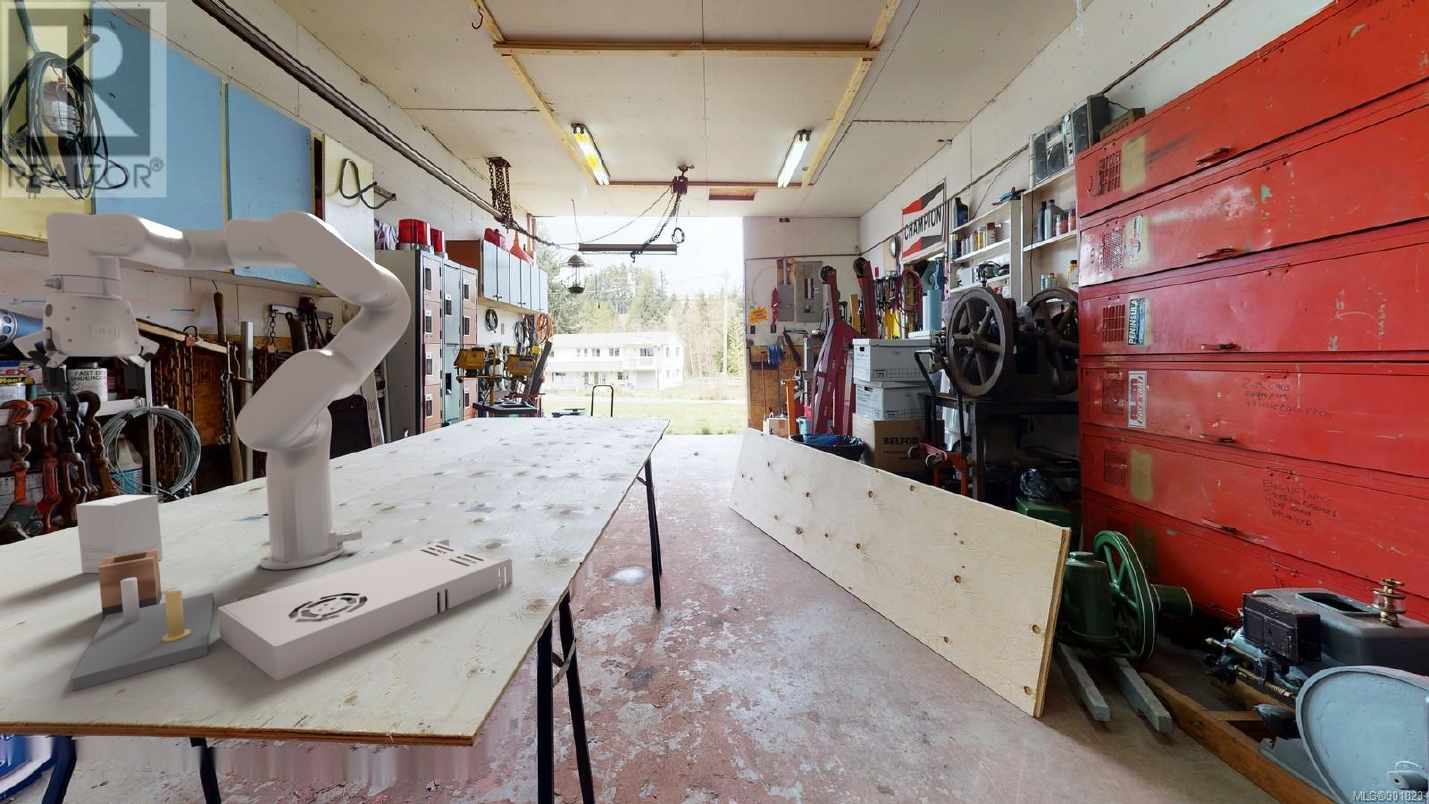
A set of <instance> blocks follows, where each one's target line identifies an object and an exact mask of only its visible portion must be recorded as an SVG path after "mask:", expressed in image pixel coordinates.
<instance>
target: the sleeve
mask: <svg viewBox="0 0 1429 804" xmlns="http://www.w3.org/2000/svg"><path fill="white" fill-rule="evenodd" d="M98 569H99V573H98V580H99V590H100V603H101V614H102V621H103V620H104V619H105V617H106V615H110V614H115V613H120V612H123V606H122V594H121V582H120V581H121V580H124V579H127V578H133V577H136V578H137V587H138V599H139V608H143V607H148V606H153V605H157V604H161V600H162V586H161V573H160V561H159V558H158V549H154V550H148V551H142V552H136V553H129V554H123V555H117V556H111V557H106V558H105V559H104V561H103V562H102V563H101V565H100V566H99V568H98Z"/></svg>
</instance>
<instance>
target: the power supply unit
mask: <svg viewBox="0 0 1429 804" xmlns="http://www.w3.org/2000/svg"><path fill="white" fill-rule="evenodd" d="M511 581H512V582H513V560H512V558H505V559H503V560H500V561H497V560H494V559H490V558H487V557H484V556H481V555H477V554H474V553H471V552H469V551H465V550H463V549H459V548H457V547H452V546H450V541H449V539H441V540H438V541H435V542H431V543H428V544H424V545H421V546H417V547H415V548H411V549H408V550H405V551H401V552H398V553H395V554H391V555H389V556H388V555H387V556H385V557H381V558H378V559H375V560H372V561H369V562H364V563H362V564H358V565H354V566H351V567H348V568H345V569H342V570H338V571H335V572H330V573H328V574H325V575H322V576H318V577H314V578H312V579H308V580H304V581H302V582H301V581H300V582H298V583H294V584H291V585H289V586H285V587H282V588H278V589H274V590H271V591H268V592H265V593H260V594H258V595H255V596H251V597H247V598H245V599H241V600H238V601H235V602H231V603H227V604H224V605H221V606H219V607H218V609H217V610H218V623H219V637H220V639H221V640H223V642H225V643H226V644H227V645H229V646H230V647H231V648H233V649H234V650H236V651H237V652H238V653H240V654H241V655H242V656H243V657H245V658H246V659H247V660H248V661H250V662H251V663H253V664H254V665H255V666H257V667H258V668H260V669H261V671H264V672H265V673H266V674H267V675H268V676H270V677H271V678H272V679H274V680H275V681H281V680H283V679H286V678H288V677H290V676H293V675H295V674H297V673H299V672H302V671H305V670H307V669H310V668H312V667H314V666H317V665H319V664H321V663H324V662H326V661H328V660H330V659H333V658H335V657H339V656H340V655H342V654H344V653H347V652H350V651H352V650H355V649H356V648H359V647H361V646H364V645H366V644H368V643H371V642H373V641H376V640H378V639H381V638H383V637H384V636H385V637H386V636H387V635H390V634H392V633H394V632H396V631H399V630H401V629H404V628H406V627H408V626H411V625H413V624H416V623H418V622H420V621H422V620H425V619H428V618H430V617H432V616H435V615H436V614H438V603H439V612H440V613H441V612H444V611H446V607H447V609H451V608H454V607H456V606H458V605H460V604H463V603H466V602H468V601H470V600H472V599H474V598H477V597H479V596H482V595H484V594H486V593H489V592H491V591H493V590H495V589H498V588H500V587H499V586H501V585H503V586H505V585H506V584H509V582H510V583H512V582H511Z"/></svg>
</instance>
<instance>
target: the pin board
mask: <svg viewBox="0 0 1429 804" xmlns="http://www.w3.org/2000/svg"><path fill="white" fill-rule="evenodd" d="M120 582H121V594H122V606H123V612H120V613H115V614H110V615H106V617H105V619H104V621H103V620H102V623H101V624H100V626H99V628H98V629H97V632H96V633H95V635H94V637H93V639H92V640H91V643H90V644H89V646H88V648H87V650H86V652H85V653H84V656H83V657H82V659H81V661H80V663H79V665H78V666H77V668H76V670H75V672H74V674H73V676H72V677H71V688H72V692H74V691H78V690H82V689H85V688H89V687H93V686H96V685H101V684H104V683H107V682H108V681H109V682H112V681H116V680H118V679H117V678H120V679H123V678H126V677H130V676H133V675H134V674H135V675H137V674H141V673H145V672H144V671H146V672H149V671H153V670H156V669H159V668H163V667H167V666H171V664H172V665H174V663H175V664H178V663H183V662H186V661H189V660H193V659H197V658H200V657H205V656H207V655H208V653H207V652H209V646H210V645H209V643H210V637H211V636H210V635H211V629H212V622H213V621H212V620H213V612H214V605H215V596H214V592H210V593H205V594H200V595H196V596H195V595H194V596H191V597H185V598H183V593H182V591H183V590H180V589H179V590H178V589H177V590H176V589H175V590H172V591H169V592H166V593H165V594H164V598H165V599H164V600H165V602H164V603H159V604H157V605H153V606H148V607H143V608H139V599H138V587H137V578H136V577H133V578H127V579H124V580H121V581H120ZM122 677H123V678H122ZM115 679H116V680H115ZM111 680H112V681H111ZM109 682H108V683H109Z"/></svg>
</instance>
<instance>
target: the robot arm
mask: <svg viewBox="0 0 1429 804" xmlns="http://www.w3.org/2000/svg"><path fill="white" fill-rule="evenodd" d="M45 218H46V219H45V229H46V231H45V232H46V238H47V250H48V258H49V259H48V260H49V269H50V275H49V277H47V278H40V280H39V284H40V286H41V287H43V288H49V289H50V293H52V294H51V295H50V294H49V295H47V297H46V300H45V303H44V304H45V305H44V309H43V315H42V330H38V331H36V332H32V333H30V334H27V335H24V336H21V337H17V338H15V339H13V340H12V342H13V344H14V346H15V347H16V348H17V349H18V350H19V351H20V352H21V353H22V356H23V357H24V358H26V359H27V360H29V361H31V362H32V363H34V364H35V365H36V366H37V367H38V368H41V377H42V385H43V387H44V388H45V389H46V391H47V393H65V392H66V391H67V385H66V384H67V383H66V374H65V369H64V367H60V365H61V364H62V363H63V362H64V361H65V360H66V359H68V357H117V358H118V359H120V360H121V361H122V362H123V363H124V364H126V365H127V366H124V367H123V377H124V378H123V379H124V388H125V389H127V390H142V389H143V388H144V387H143V385H144V383H145V377H144V368H145V367H146V366H147V365H148V363H149V362H150V361H152V359H154V358H155V354H156V353H157V351H158V349H159V348H160V344H159V343H158V342H156V341H154V340H151V339H149V338H147V337H144V336H142V335H140V333H139V326H138V322H137V319H136V316H135V312H134V310H133V307H132V305H131V303H130V301H129V300H125V299H124V300H123V295H122V294H123V293H122V283H121V271H120V270H121V269H120V259H125V260H129V261H133V262H138V263H142V264H147V265H150V266H155V267H158V268H162V269H163V268H164V269H171V270H189V271H191V270H192V271H193V270H194V271H195V270H197V271H198V270H199V271H200V270H201V271H204V270H205V271H207V270H208V271H217V270H218V271H221V270H222V271H223V270H233V269H242V268H243V269H244V268H295V269H296V268H299V270H301V271H302V272H304V273H305V274H307V275H308V276H309V277H311V278H312V279H313V280H315V281H316V282H317V283H319V284H320V285H321V286H323V287H324V288H325V289H326V290H328V291H330V292H331V293H332V294H333V295H335V296H337V297H338V298H340V299H342V300H343V301H345V302H347V303H349V304H352V305H355V306H359V307H360V310H359V312H358V313H357V315H355V316H354V317H353V318H352V319H350V320H349V321H348V322H346V324H345V325H343V326H342V328H341V329H340V330H339V331H338V333H337V334H336V335H335V336H334V337H333V339H332V340H331V341H330V342H328V343H327V345H325V346H324V347H322V348H321V349H319V348H317V349H316V348H312V349H306V350H303V351H300V352H297V353H295V354H294V355H292V356H291V357H289V358H288V359H286V360H285V361H284V362H283V363H282V364H280V366H279V367H278V368H277V369H276V370H275V371H274V372H273V373H272V375H271V376H270V377H269V378H268V379H267V380H266V381H265V382H264V383H263V385H262V386H261V387H259V388H258V390H257V391H256V392H255V393H254V395H253V396H252V397H251V398H250V399H249V400H248V401H247V402H246V403H245V405H244V406H243V407H242V409H241V410H240V412H239V414H238V415H237V418H236V423H235V429H236V434H237V436H238V438H239V440H240V441H241V442H242V443H243V445H245V446H246V447H248V448H250V449H252V450H254V451H258V452H263V453H266V462H265V473H266V474H265V479H266V480H265V481H266V498H267V499H266V500H267V516H268V530H269V531H268V532H269V533H268V534H269V549H270V552H268V553H266V554H264V555H263V556H262V557H260V559H259V565H260V567H261V568H264V569H267V570H274V571H275V570H279V571H280V570H292V569H300V568H303V567H304V568H305V567H309V566H313V565H317V564H320V563H324V562H327V561H329V560H332V559H334V558H336V557H338V556H340V555H341V554H342V553H343V552H344V543H345V542H350V541H351V542H352V541H358V540H362V539H363V531H362V529H356V530H353V529H347V530H343V531H338V530H336V528H335V527H334V526H333V508H332V507H333V506H332V487H331V464H330V463H331V461H330V458H331V457H330V451H331V439H332V427H333V424H332V423H333V422H332V415H331V413H330V411H329V409H328V406H329V405H330V404H332V402H333V401H337V400H342V399H345V398H348V397H350V396H352V395H353V394H355V392H357V391H358V389H360V387H361V385H362V384H363V383H364V381H366V379H368V377H369V376H370V375H371V374H372V372H374V370H375V369H376V368H377V367H378V365H379V364H380V363H381V362H382V361H383V359H384V358H385V357H386V355H388V354H389V352H390V351H391V349H392V348H393V347H394V346H395V345H396V344H397V342H398V341H399V340H400V339H401V337H402V336H403V335H404V333H405V331H406V330H407V327H408V325H409V323H410V319H411V317H412V316H411V315H412V304H411V300H410V297H409V294H408V292H407V290H406V287H405V286H404V285H403V283H402V282H401V281H400V279H399V277H397V276H396V275H395V274H394V273H392V272H391V271H389V269H386V268H385V267H383V266H381V265H379V264H377V263H375V262H374V261H372V260H370V259H369V258H367V256H365V255H364V254H362V252H359V251H358V250H357V249H356V248H354V247H352V245H350V244H349V243H348V242H346V241H345V240H344V239H343V236H342V235H341V234H340V233H339V232H338V231H337V230H336V229H335V228H334V227H333V226H332V225H330V224H329V223H326V222H325V221H323V220H322V219H321V218H319V217H317V216H315V215H314V214H311V213H309V212H306V211H302V210H293V209H292V210H285V211H281V212H278V213H277V214H275V215H273V216H272V217H271V218H270V219H269V218H268V219H267V218H266V219H265V218H244V217H234V218H231V219H229V220H228V221H227V222H226V223H225V226H224V227H223V228H218V229H188V228H187V229H185V228H173V227H170V226H167V225H165V224H161V223H159V222H156V221H152V220H149V219H146V218H144V217H141V216H138V215H135V214H130V213H124V212H123V213H121V212H113V213H112V212H111V213H109V212H108V213H100V214H85V213H77V212H69V211H68V212H67V211H57V212H51V213H49V214H48V215H47V216H46V217H45ZM39 342H40V343H41V342H43V343H42V344H43V348H44V350H45V352H46V353H45V354H44V353H43V352H41V351H40V350H37V348H36V346H35V345H36V344H37V343H39ZM142 347H143V350H142ZM141 351H142V352H141Z"/></svg>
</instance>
